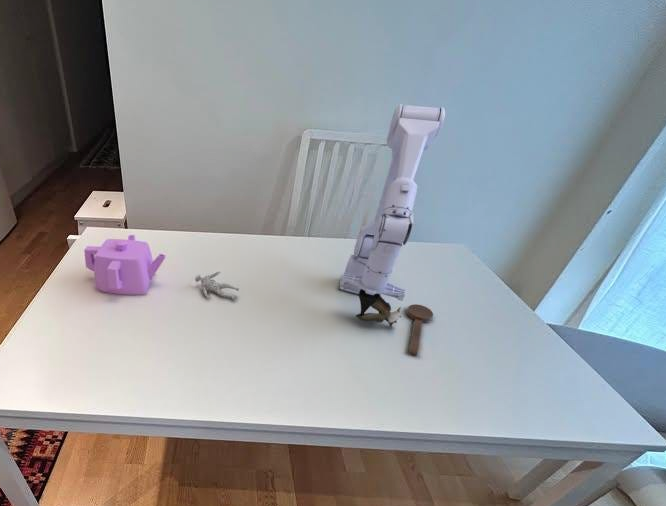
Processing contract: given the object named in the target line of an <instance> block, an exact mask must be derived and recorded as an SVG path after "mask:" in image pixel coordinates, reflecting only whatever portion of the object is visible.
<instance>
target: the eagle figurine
mask: <svg viewBox="0 0 666 506" xmlns="http://www.w3.org/2000/svg"><path fill="white" fill-rule="evenodd" d="M370 307H371V308H372V309H374V310H376V311H377V312H378V313H376V312H375V313H374V312H365V313H364V315H363V316H360V313H357V314H355V318H356V319H357V320H359V321H362V322H375V323H384V322H385V321H386V322H387V323H388V327H389V328H390V329H392V327H393V325H394V323H395V324H397V323H398V322H397V320H399V318H402V315H401V314H400V312H401V311H400V310H401V308H402V307H401V306H400V307H398V308H397V310H395V311H392V306H391V304H390V302H387V301H386V300H385V299H384V298H383V297H382V294H380V296H379V299H378V300H377V301H376V302H375V303H374V304H372V305H371V306H370ZM391 311H392V312H391Z"/></svg>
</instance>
